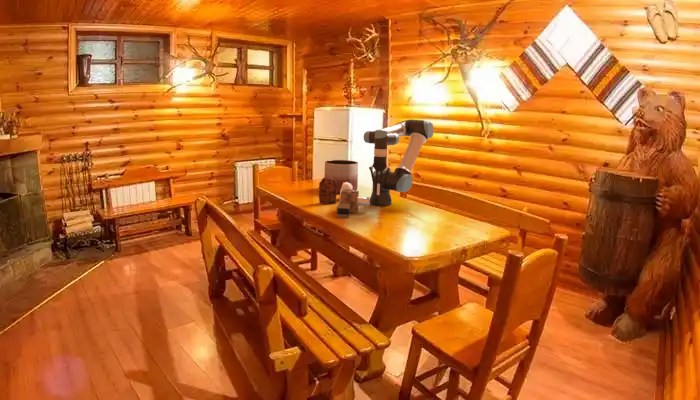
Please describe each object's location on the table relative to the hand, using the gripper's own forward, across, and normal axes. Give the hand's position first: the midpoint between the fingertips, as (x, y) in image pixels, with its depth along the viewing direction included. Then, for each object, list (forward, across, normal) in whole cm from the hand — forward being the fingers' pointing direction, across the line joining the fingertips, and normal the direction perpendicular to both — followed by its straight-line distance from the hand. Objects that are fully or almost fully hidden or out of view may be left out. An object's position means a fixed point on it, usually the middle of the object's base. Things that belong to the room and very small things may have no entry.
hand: (378, 194), depth 265 cm
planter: (+12, +30, -63) cm, 71 cm away
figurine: (+12, +23, -34) cm, 43 cm away
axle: (+8, +14, 0) cm, 16 cm away
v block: (+12, +20, +11) cm, 25 cm away
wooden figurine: (+12, +33, -20) cm, 40 cm away
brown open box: (+12, +17, 0) cm, 21 cm away
